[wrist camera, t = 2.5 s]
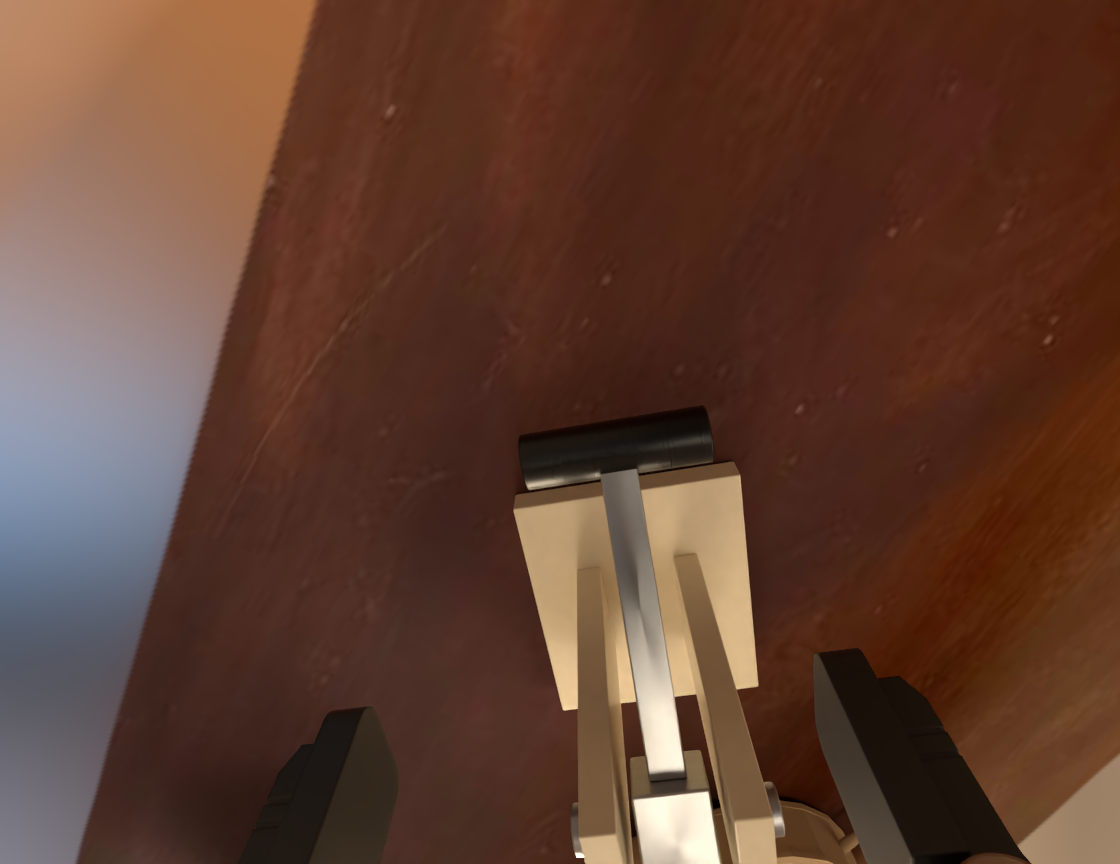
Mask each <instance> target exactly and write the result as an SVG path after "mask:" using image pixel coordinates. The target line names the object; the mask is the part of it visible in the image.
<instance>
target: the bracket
mask: <svg viewBox="0 0 1120 864" xmlns="http://www.w3.org/2000/svg"><path fill="white" fill-rule="evenodd" d="M639 481H640V487H641V493H642V499H643V505H644V511H645V518H646V524H647V530H648V536H649V542H650V549H651V555H652V561H653V567H654V573H655V579H656V586H657V592H658V598H659V604H660V610H661V617H662V623H663V629H664V635H665V641H666V647H667V654H668V660H669V666H670V672H671V678H672V684H673V691H674V697H676V696H684V695H692V694H696V695H697V699H698V704H699V709H700V713H701V718H702V723H703V727H704V732H705V736H706V741H707V746H708V750H709V755H710V760H711V764H712V769H713V773H714V778H715V783H716V787H717V792H718V797H719V801H720V806H721V811H722V815H723V820H724V824H725V829H726V834H727V838H728V843H729V848H730V852H731V857H732V861H733V864H777V854H776V842H775V838H776V837H784V836H785V824H784V818H783V813H782V808H781V804H780V800H779V796H778V793H777V790H776V787H775V785H774V783H773V782H763V779H762V776H761V772H760V769H759V765H758V762H757V759H756V755H755V752H754V748H753V745H752V741H751V738H750V734H749V731H748V727H747V724H746V720H745V717H744V714H743V710H742V707H741V703H740V700H739V696H738V693H737V689H741V688H749V687H757V686H758V676H757V664H756V652H755V641H754V629H753V618H752V606H751V594H750V583H749V571H748V559H747V548H746V536H745V525H744V513H743V501H742V490H741V478H740V474H739V472H738V470H737V468H736V465H735V463H734V462H726V463H720V464H713V465H707V466H700V467H694V468H687V469H681V470H674V471H668V472H661V473H655V474H648V475H642V476H639ZM513 511H514V515H515V519H516V523H517V527H518V531H519V535H520V539H521V543H522V547H523V551H524V555H525V559H526V563H527V567H528V571H529V575H530V579H531V583H532V587H533V591H534V596H535V600H536V604H537V608H538V612H539V616H540V620H541V624H542V628H543V632H544V636H545V640H546V644H547V648H548V652H549V656H550V660H551V664H552V668H553V672H554V676H555V680H556V684H557V688H558V693H559V697H560V701H561V705H562V709H563V710H570V709H578V803H573V804H572V805H571V810H570V824H571V836H572V844H573V849H574V853H575V855H576V857H578V858H580V857H584V860H585V864H634V862H633V849H632V837H631V825H630V812H629V800H628V788H627V776H626V763H625V751H624V739H623V726H622V714H621V703H627V702H636V696H635V690H634V684H633V678H632V671H631V665H630V659H629V653H628V646H627V640H626V634H625V628H624V622H623V615H622V609H621V603H620V597H619V590H618V584H617V578H616V572H615V566H614V559H613V553H612V547H611V541H610V534H609V528H608V522H607V516H606V509H605V503H604V497H603V491H602V485H601V482H596V483H590V484H583V485H577V486H570V487H564V488H557V489H551V490H544V491H538V492H531V493H525V494H518V495H516V496H515V502H514V509H513Z"/></svg>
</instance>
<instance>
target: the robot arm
mask: <svg viewBox="0 0 1120 864" xmlns="http://www.w3.org/2000/svg"><path fill="white" fill-rule="evenodd" d="M813 675H814V704H815V721H816V727H817V732H818V736H819V740H820V744H821V747H822V750H823V753H824V756H825V758H826V761H827V763H828V766H829V769H830V771H831V774H832V776H833V779H834V781H835V784H836V786H837V789H838V791H839V794H840V796H841V799H842V801H843V804H844V806H845V809H846V811H847V814H848V816H849V819H850V822H851V824H852V827H853V829H854V832H855V834H856V837H857V839H858V842H859V844H860V847H861V849H862V852H863V854H864V857H865V859H866V862H867V864H1031V863H1030V862H1029V861H1028V859H1027V858H1026V857H1025V856H1024V855H1023V854H1022V852H1021V851H1020V850H1019V848H1018V847H1017V845H1016V844H1015V842H1014V841H1013V839H1012V837H1011V836H1010V834H1009V832H1008V831H1007V829H1006V827H1005V826H1004V824H1003V823H1002V821H1001V819H1000V818H999V816H998V814H997V813H996V811H995V810H994V808H993V806H992V805H991V803H990V801H989V800H988V798H987V796H986V795H985V793H984V792H983V790H982V788H981V787H980V785H979V783H978V782H977V780H976V779H975V777H974V775H973V774H972V772H971V770H970V769H969V767H968V765H967V764H966V762H965V761H964V759H963V757H962V756H960V755H959V753H958V749H957V748H956V746H955V744H954V743H953V741H952V739H951V738H950V736H949V734H948V733H947V732H945V730H944V726H943V725H942V723H941V721H940V720H939V718H938V717H937V715H936V713H935V712H934V710H933V708H932V707H931V705H930V703H929V702H928V700H927V699H926V698H925V697H924V696H923V695H922V694H920V693H919V692H918V691H917V690H916V689H914V688H913V687H912V686H911V685H909V684H908V683H907V682H906V681H905V680H903V679H902V678H901V677H900V676H895V677H886V678H878V679H877V677H876V676H875V674H874V672H873V670H872V668H871V667H870V665H869V663H868V661H867V659H866V657H865V656H864V654H863V652H862V651H861V650H860V649H858V648H854V649H846V650H838V651H830V652H821V653H815V654H814V656H813ZM397 793H398V770H397V765H396V761H395V759H394V756H393V754H392V751H391V749H390V746H389V744H388V741H387V739H386V736H385V734H384V731H383V729H382V726H381V724H380V721H379V719H378V716H377V714H376V712H375V710H374V709H373V708H372V707H370V706H369V707H361V708H353V709H345V710H336V711H331V712H329V713H328V714H327V715H326V717H325V719H324V721H323V723H322V726H321V728H320V730H319V733H318V735H317V738H316V740H315V742H314V744H306V745H302V746H301V747H300V748H299V749H298V750H297V751H296V753H295V754H294V755H293V756H292V757H291V759H290V760H289V761H288V762H287V763H286V764H285V766H284V767H283V768H282V769H281V770H280V772H279V774H278V776H277V779H276V781H275V783H274V785H273V787H272V790H271V792H270V794H269V796H268V798H267V805H264V807H263V810H262V812H261V814H260V816H259V818H258V821H257V823H256V824H257V827H256V829H253V832H252V834H251V836H250V838H249V840H248V843H247V845H246V847H245V849H244V851H243V854H242V856H241V858H240V860H239V862H238V864H380V861H381V857H382V853H383V849H384V845H385V842H386V838H387V834H388V830H389V826H390V822H391V819H392V815H393V811H394V807H395V803H396V799H397Z"/></svg>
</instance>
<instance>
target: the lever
mask: <svg viewBox="0 0 1120 864" xmlns="http://www.w3.org/2000/svg"><path fill="white" fill-rule="evenodd" d="M519 458H520V465H521V471H522V475H523V479H524V482H525V485H526V487H527V489H528V490H534V489H540V488H547V487H553V486H560V485H566V484H573V483H579V482H586V481H592V480H599V479H601V485H602V491H603V497H604V503H605V509H606V516H607V522H608V528H609V534H610V541H611V547H612V553H613V559H614V566H615V572H616V578H617V584H618V590H619V597H620V603H621V609H622V615H623V622H624V628H625V634H626V640H627V646H628V653H629V659H630V665H631V671H632V678H633V684H634V690H635V696H636V702H637V709H638V715H639V721H640V727H641V734H642V740H643V746H644V752H645V756H641V757H632V758H631V759H630V779H631V803H632V809H633V815H634V822H635V828H636V834H637V840H638V847H639V853H640V859H641V864H722V859H721V853H720V847H719V841H718V835H717V828H716V822H715V816H714V810H713V804H712V798H711V792H710V787H709V783H708V779H707V775H706V771H705V767H704V762H703V758H702V754H701V751H700V750H693V751H684V752H683V746H682V740H681V734H680V728H679V722H678V715H677V709H676V703H675V697H674V691H673V684H672V678H671V672H670V666H669V660H668V654H667V647H666V641H665V635H664V629H663V623H662V617H661V610H660V604H659V598H658V592H657V586H656V579H655V573H654V567H653V561H652V555H651V549H650V542H649V536H648V530H647V524H646V518H645V511H644V505H643V499H642V493H641V487H640V481H639V474H638V473H644V472H651V471H657V470H664V469H670V468H677V467H683V466H690V465H696V464H703V463H709V462H713V459H714V446H713V438H712V431H711V426H710V421H709V417H708V414H707V411H706V408H705V407H704V406H702V405H701V406H695V407H689V408H683V409H677V410H670V411H664V412H658V413H652V414H646V415H640V416H633V417H627V418H621V419H615V420H609V421H603V422H596V423H590V424H584V425H578V426H572V427H566V428H559V429H553V430H547V431H541V432H535V433H529V434H522V435H520V436H519Z"/></svg>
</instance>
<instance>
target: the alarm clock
mask: <svg viewBox="0 0 1120 864" xmlns="http://www.w3.org/2000/svg"><path fill="white" fill-rule="evenodd" d="M780 804H781V808H782V813H783V818H784V824H785V836H784V837H776V838H775V842H776V854H777V864H857V862H856V860H855V858H854V856H853V854H852V852H851V849H853V848H854V847H855V846H857V844H858V843H859V842H858V839H857V837H856V834H855V832H854V831H853V832H851V833H848V834H847V835H845V834H844V832H843V831H842V830H841V829H840V828H839V827H838V826H837V825H836V824H835V823H834V822H833V821H832V820H831V819H830V818H829V816H828V815H826V814H824V813H822V812H820V811H817V810H815V809H813V808H811V807H808V806H806V805H804V804H802V803H795V802H787V801H780ZM714 816H715V822H716V828H717V835H718V841H719V847H720V853H721V859H722V864H733V861H732V857H731V852H730V848H729V843H728V838H727V834H726V829H725V824H724V820H723V815H722V811H721V808H718V809H714ZM632 849H633V862H634V864H641V859H640V853H639V847H638V840H637V836H635V837H633V838H632Z"/></svg>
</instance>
